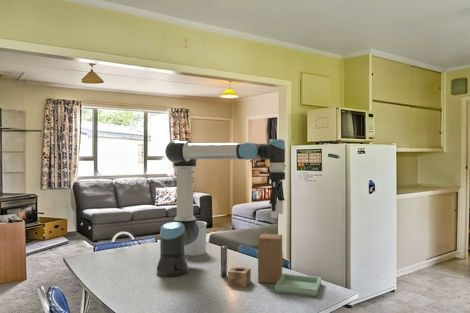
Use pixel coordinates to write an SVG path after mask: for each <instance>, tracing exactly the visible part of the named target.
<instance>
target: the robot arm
mask: <svg viewBox="0 0 470 313" xmlns="http://www.w3.org/2000/svg"><path fill="white" fill-rule="evenodd" d="M164 153H165V156H166V158H167V159H168V161H170V162H172V163H173V167H174V168H175V169H176V215H175V217H174V218H173V221H172V222H167V223H164V224H162V225H161V226H160V232H159V236H160V237H159V238H160V239H159V242H160V243H159V244H160V245H159V246H160V247H159V248H160V249H159V250H160V252H159V254H160V257H159V261H158V264H157V267H156V275H158V276H161V277H168V278H169V277H171V278H173V277H181V276H184V275H186V274H188V273H189V266H188V263H187V260H186V255H185V254H184V246H186V245H188V244H191V243H192V242H194V241H195V240H196V239H197V238H198V236H199V231H200V230H199V226H198V225H197V223H196V221H197V217H195V216H194V170H195V168H196V167H197V160H248V161H249V160H268V161H269V163H268V165H269V168H268V170H269V171H270V172H269V177H268V178H269V180H271V181H272V182H271V190H270V198H269V202H268V203H269V205H270V218H271V219H278V215H284V202H285V200H286V199H285V196H284V187H283V181H285V180H286V172H285V171H286V167H287V164H286V143H285V140H284V139H277V138H276V139H269V141H268V143H254V142H253V143H252V142H216V143H215V142H211V143H210V142H209V143H208V142H206V143H205V142H204V143H203V142H202V143H201V142H200V143H195V142H193V141H190V140H183V139H182V140H181V139H174V140H172V141H170V142H168V144H167V146H166V147H165V152H164Z"/></svg>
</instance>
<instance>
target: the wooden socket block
mask: <svg viewBox="0 0 470 313" xmlns="http://www.w3.org/2000/svg"><path fill="white" fill-rule="evenodd" d="M251 271H252V269H251V267H243V266H233V267H231V268H230V269H229V270H227V285H228V286H233V287H241V288H242V287H243V288H246V287H247V286H248V285H249V284H250V282H251V281H252V280H251V278H252V277H251V276H252V274H251Z"/></svg>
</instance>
